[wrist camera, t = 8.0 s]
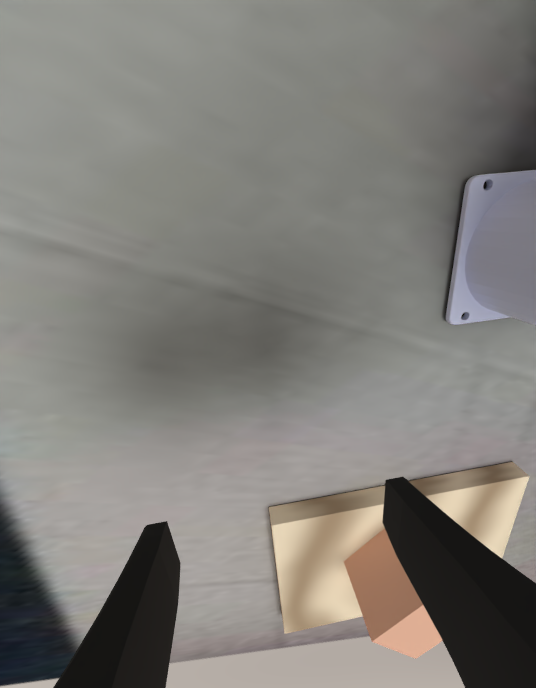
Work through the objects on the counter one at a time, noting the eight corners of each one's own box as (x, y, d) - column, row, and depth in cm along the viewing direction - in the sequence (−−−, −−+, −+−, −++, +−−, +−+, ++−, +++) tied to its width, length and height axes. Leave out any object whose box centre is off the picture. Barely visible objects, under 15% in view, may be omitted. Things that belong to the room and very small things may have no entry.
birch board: (512, 461, 25) (529, 476, 23) (480, 569, 30) (492, 586, 29) (268, 507, 23) (271, 525, 22) (281, 613, 28) (284, 633, 27)
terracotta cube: (390, 523, 23) (431, 598, 19) (426, 546, 25) (472, 620, 20) (343, 561, 24) (371, 641, 20) (381, 581, 26) (415, 658, 21)
